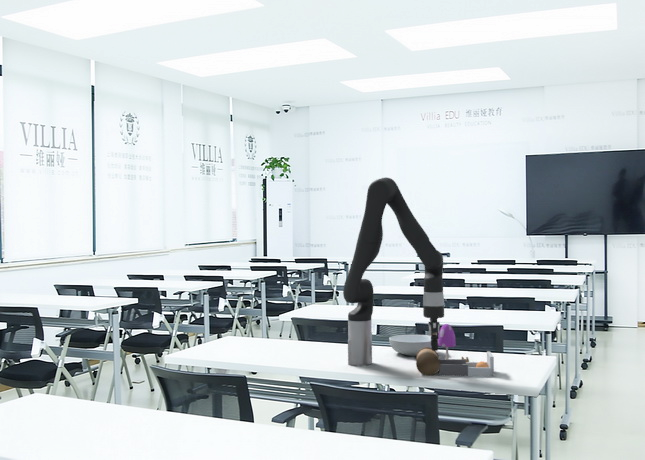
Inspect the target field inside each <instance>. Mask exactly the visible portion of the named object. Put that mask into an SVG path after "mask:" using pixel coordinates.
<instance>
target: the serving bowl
mask: <svg viewBox="0 0 645 460" xmlns="http://www.w3.org/2000/svg"><path fill="white" fill-rule="evenodd" d="M388 340H389V344H390V347H391V348H392V349H393V351H395V352H397V353H398V354H402V355H405V356H411V357H416V355H417V353H418V351H419V350H420V349H422V348H424V347H430V348H432V346H431V335H430V334H429V335H427V334H399V335H394V336H389V339H388Z"/></svg>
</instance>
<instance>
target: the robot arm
mask: <svg viewBox="0 0 645 460" xmlns="http://www.w3.org/2000/svg"><path fill="white" fill-rule="evenodd" d="M387 205H388V207H389V208H390V209H391V211H392V212H393V213H394V216H395V217H396V220H397V223H398V225H399V228H400V230H401V232H402V234H403V236H404V237H405V239H406V240H407V242H408V243H409V244H410V246H411V247H412V248H413V250H414V251H415V253H416V255H417V256H418V259H419V260H420V261H421V263H422V264H423V266H424V278H423V297H422V298H423V299H422V304H423V305H422V307H423V309H422V310H423V313H422V315H423V317H424V318H427V319H429V321H428V322H427V323H428V332H429V336H431V346H432V351H436V352H437V351H438V350H439V344H438V338H439V332H440V328H441V327H440V321H438V320H439V319H441V318H444V317H445V296H444V280H443V273H444V257H443V254H442V253H441V251H439V250H437V249H436V247H435V246H434V245H433V243H432V242H431V240H430V238H429V235H428V234H427V233H426V231H425V230H424V229H423V227H422V226H421V224H420V223H419V221H418V220H417V218H416V217H415V215H414V214H413V212H412V211H411V209H410V207H409V206H408V204H407V202H406V200H405V198H404V196H403V195H402V192H401V189H400V188H399V186H398V184H397V183H396V181H395V180H394V179H392V178H390V177H381V178H378V179H374V180H372V182H371V183H370V184H369V186H368V188H367V195H366V201H365V208H364V213H363V218H362V222H361V225H360V229H359V232H358V236H357V239H356V244H355V245H356V246H355V250H354V253H353V258H352V260H351V263H350V268H349V270H348V274H347V276H346V278H345V281H344V285H343V291H342V295H343V299H344V300H345V302H346V303H348V304H357V305H356V307H355V308H354V309H352V310H350V311H349V312H348V315H347V316H348V317H347V325H348V326H347V329H348V331H347V335H348V339H347V364H348V365H351V366H369V365H372V364H373V341H372V340H373V334H372V331H373V329H372V328H373V327H372V326H373V325H372V324H373V323H372V315H373V313H374V285H373V283H372V282H371V281H370V280H369V279H368V278H363V276H364V274H365V272H366V270H367V269H368V268H369V266H370V265H372V263H373V262H374V261H375V260H376V258H377V256H378V255H379V253H380V249H381V247H382V243H383V237H384V230H383V215H384V212H385V209H386V206H387Z"/></svg>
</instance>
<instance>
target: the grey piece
mask: <svg viewBox="0 0 645 460" xmlns="http://www.w3.org/2000/svg"><path fill="white" fill-rule="evenodd" d="M494 357H495V356H494V355H493V353H492V352H491V351H486V363H487V364H488V367H489V368H478V367H476V365H477V363H479V362H480V361H469V362H466V358H464V359H462V358H460V359H459V358H457V359H456V358H454V359H453V358H452V359H451V358H449V359H446V358H439V361H440V367H439V370H438V374H439V375H438V376H439V377H440V376H441V377H486V378H487V377H488V378H490V377H493V378H494V376H495V367H494V366H495V365H494V360H495V359H494Z"/></svg>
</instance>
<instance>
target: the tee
mask: <svg viewBox="0 0 645 460" xmlns="http://www.w3.org/2000/svg"><path fill="white" fill-rule="evenodd" d="M461 359H466V362H470V359H469V357H468V356H466V357H465V358H464V356H461Z"/></svg>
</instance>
